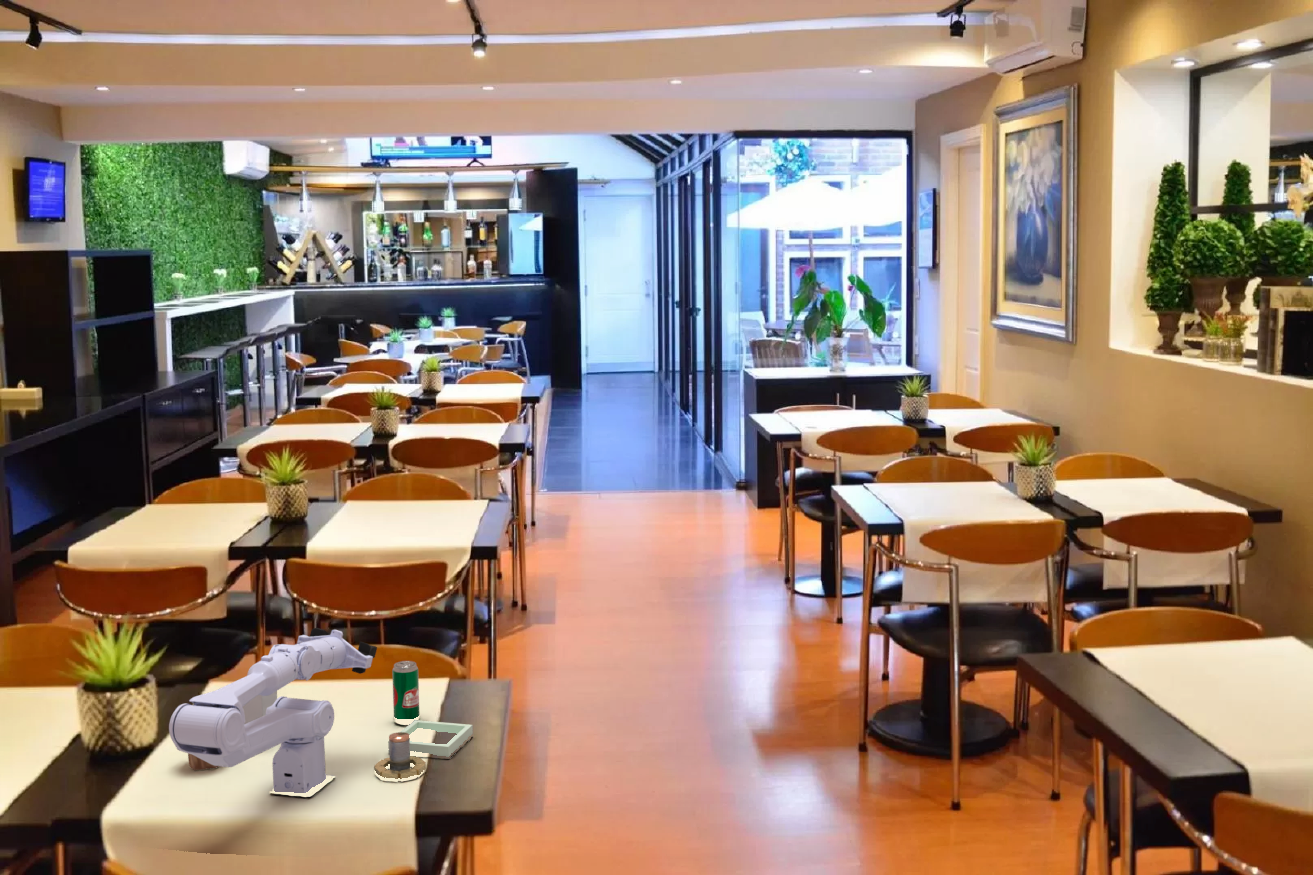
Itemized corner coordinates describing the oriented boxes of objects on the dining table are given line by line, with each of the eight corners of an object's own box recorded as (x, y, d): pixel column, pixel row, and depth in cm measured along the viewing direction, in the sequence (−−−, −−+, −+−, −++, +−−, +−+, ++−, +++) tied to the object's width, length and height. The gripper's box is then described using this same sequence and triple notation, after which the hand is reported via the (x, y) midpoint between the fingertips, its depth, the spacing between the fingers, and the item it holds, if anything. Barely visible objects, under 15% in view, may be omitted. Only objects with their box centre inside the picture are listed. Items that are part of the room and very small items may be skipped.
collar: (412, 784, 234) (412, 775, 234) (367, 779, 237) (367, 771, 236) (432, 766, 243) (431, 757, 243) (388, 762, 245) (388, 753, 245)
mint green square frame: (448, 759, 246) (448, 746, 246) (388, 754, 249) (388, 741, 248) (472, 737, 257) (472, 724, 257) (415, 732, 260) (414, 719, 260)
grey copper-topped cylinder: (405, 777, 237) (404, 740, 237) (386, 775, 238) (385, 738, 237) (413, 770, 241) (412, 733, 240) (395, 768, 242) (394, 731, 241)
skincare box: (240, 745, 253) (237, 685, 252) (256, 738, 257) (253, 678, 256) (264, 751, 251) (261, 689, 249) (280, 743, 254) (277, 683, 253)
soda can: (406, 728, 263) (404, 669, 261) (388, 723, 266) (386, 664, 264) (425, 721, 267) (423, 663, 265) (407, 716, 270) (405, 658, 268)
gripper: (360, 644, 236) (395, 636, 249) (289, 622, 239) (327, 615, 253) (351, 683, 236) (386, 672, 249) (280, 660, 240) (319, 651, 253)
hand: (356, 646), depth 251 cm, fingers open, 7 cm apart
